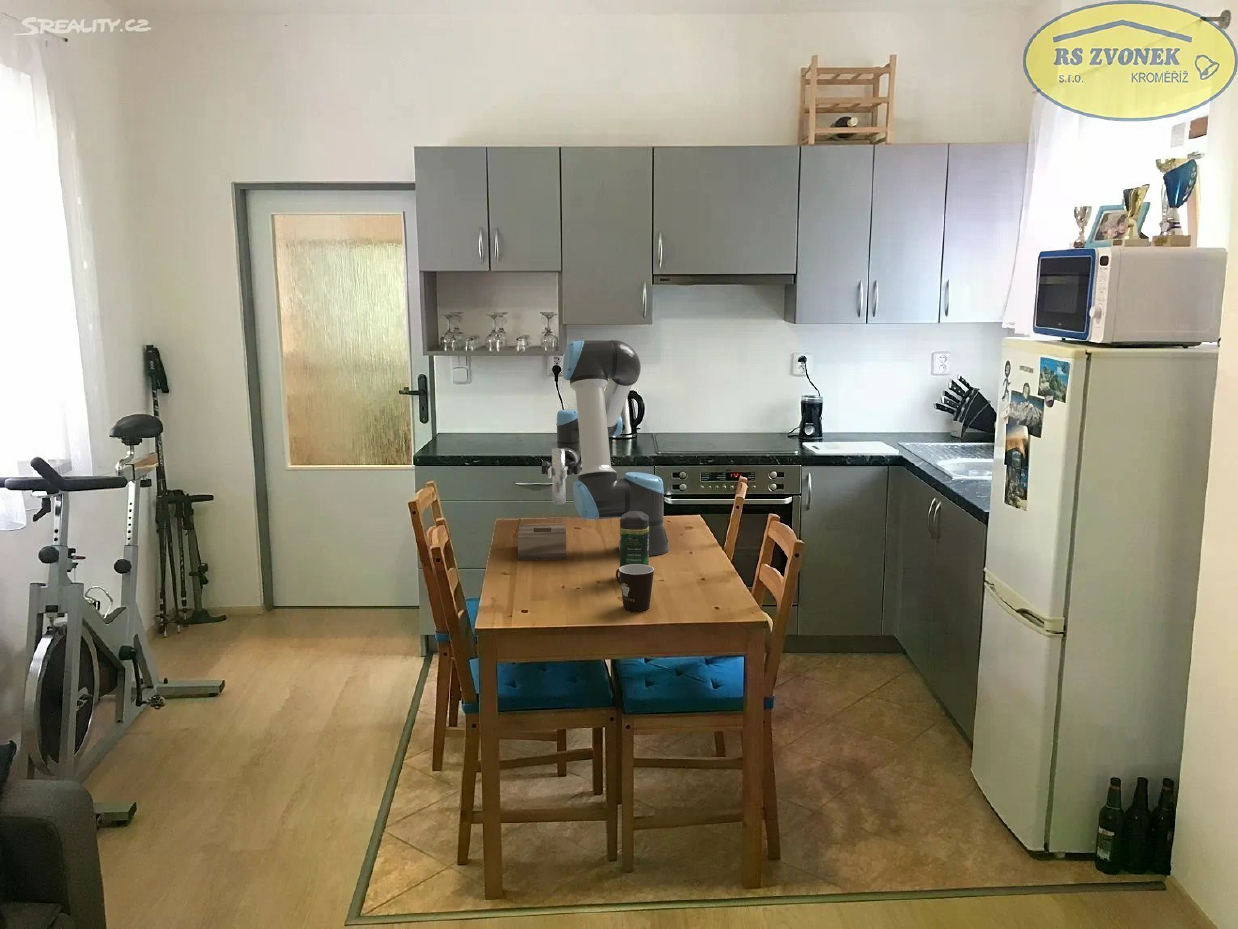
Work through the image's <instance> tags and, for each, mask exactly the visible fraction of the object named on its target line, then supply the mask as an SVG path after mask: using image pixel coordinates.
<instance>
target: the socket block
mask: <svg viewBox="0 0 1238 929" xmlns="http://www.w3.org/2000/svg"><path fill="white" fill-rule="evenodd" d="M566 524H567V523H566V522H561V523H560V522H557V523H556V522H555V523H554V522H553V523H547V522H546V523H519V527H518V532H517V560H518V559H519V560H518V561H541V560H540V559H566V560H567V527H566ZM536 559H538V560H536Z"/></svg>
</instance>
